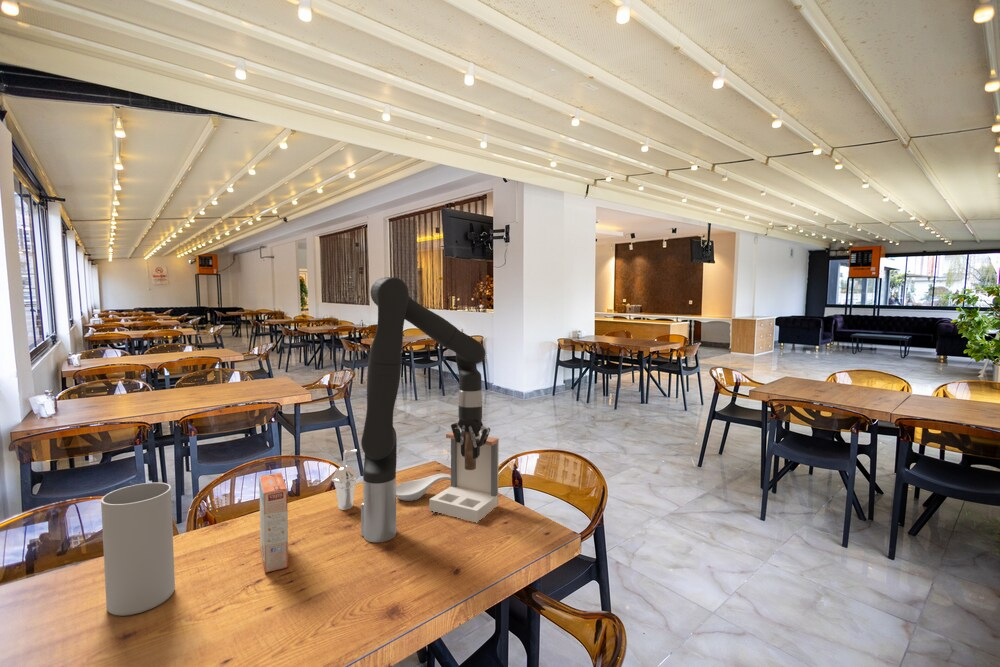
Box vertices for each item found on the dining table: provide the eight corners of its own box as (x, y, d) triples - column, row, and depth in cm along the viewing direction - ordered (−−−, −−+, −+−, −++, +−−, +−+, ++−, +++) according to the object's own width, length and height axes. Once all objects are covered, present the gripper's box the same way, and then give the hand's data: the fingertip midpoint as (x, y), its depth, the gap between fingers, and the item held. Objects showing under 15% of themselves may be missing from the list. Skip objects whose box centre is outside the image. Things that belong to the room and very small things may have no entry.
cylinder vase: (137, 582, 115) (132, 482, 114) (187, 584, 115) (183, 483, 113) (91, 616, 103) (85, 504, 101) (147, 618, 102) (142, 505, 101)
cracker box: (290, 567, 122) (288, 488, 121) (264, 574, 119) (261, 493, 118) (283, 543, 134) (282, 471, 133) (259, 549, 131) (257, 475, 130)
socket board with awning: (429, 511, 156) (429, 441, 154) (453, 495, 168) (453, 431, 166) (476, 523, 147) (477, 449, 146) (498, 506, 160) (498, 438, 158)
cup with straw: (352, 499, 164) (351, 442, 163) (364, 507, 158) (363, 448, 156) (327, 506, 159) (326, 447, 157) (339, 515, 152) (338, 454, 151)
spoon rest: (394, 507, 159) (394, 486, 159) (391, 493, 170) (391, 473, 170) (463, 498, 166) (463, 478, 166) (456, 486, 177) (456, 467, 177)
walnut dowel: (462, 468, 151) (462, 431, 150) (468, 465, 154) (468, 429, 153) (472, 470, 149) (472, 433, 149) (477, 467, 153) (478, 430, 152)
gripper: (445, 403, 150) (445, 456, 152) (483, 408, 144) (483, 464, 145) (458, 399, 157) (458, 450, 158) (495, 403, 150) (495, 457, 151)
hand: (470, 456), depth 152 cm, fingers closed on walnut dowel, 3 cm apart
